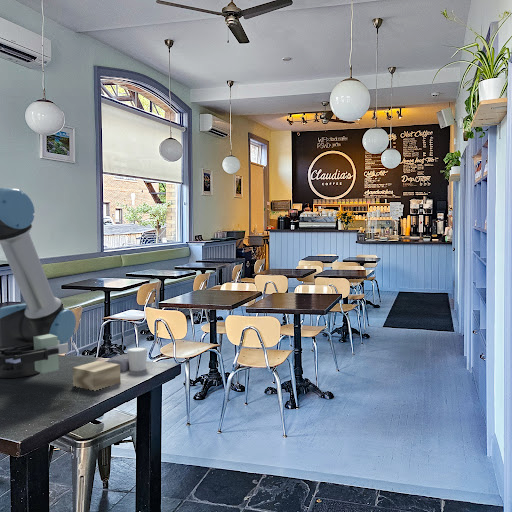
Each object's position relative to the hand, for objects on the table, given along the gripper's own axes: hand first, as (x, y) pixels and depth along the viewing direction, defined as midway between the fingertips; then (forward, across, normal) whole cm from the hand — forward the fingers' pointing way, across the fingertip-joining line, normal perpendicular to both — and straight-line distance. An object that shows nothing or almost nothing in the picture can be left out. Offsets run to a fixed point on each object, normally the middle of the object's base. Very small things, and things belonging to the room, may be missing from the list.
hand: (63, 346), depth 163 cm
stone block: (+25, -11, -14) cm, 31 cm away
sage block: (-5, 0, -6) cm, 8 cm away
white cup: (+28, -4, -14) cm, 32 cm away
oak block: (+9, +2, -14) cm, 17 cm away
